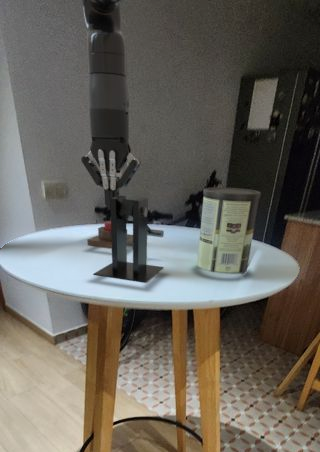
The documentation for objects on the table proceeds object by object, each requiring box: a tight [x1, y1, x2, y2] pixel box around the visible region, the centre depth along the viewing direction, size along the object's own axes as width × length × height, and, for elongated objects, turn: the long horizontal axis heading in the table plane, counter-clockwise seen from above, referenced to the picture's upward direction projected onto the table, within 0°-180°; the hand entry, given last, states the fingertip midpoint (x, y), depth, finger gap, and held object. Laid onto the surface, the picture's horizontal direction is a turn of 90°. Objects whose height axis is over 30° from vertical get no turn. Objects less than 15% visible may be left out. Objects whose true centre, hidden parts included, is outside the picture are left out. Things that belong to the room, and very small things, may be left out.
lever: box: [120, 198, 165, 238], centre depth 66 cm, size 13×6×2 cm, turn 161°
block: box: [86, 225, 133, 250], centre depth 84 cm, size 8×10×4 cm
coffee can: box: [196, 186, 262, 277], centre depth 70 cm, size 10×10×14 cm
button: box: [104, 220, 111, 231], centre depth 83 cm, size 4×4×2 cm
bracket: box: [92, 195, 164, 284], centre depth 64 cm, size 10×10×13 cm
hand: (112, 209), depth 81 cm, fingers closed
